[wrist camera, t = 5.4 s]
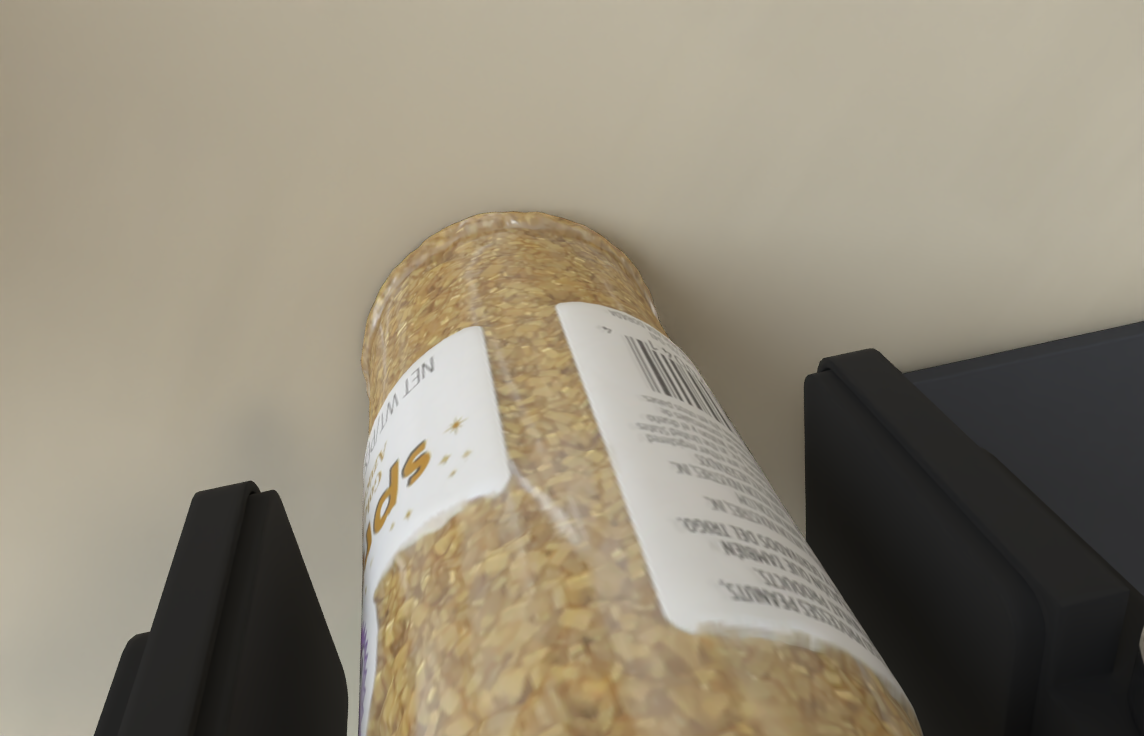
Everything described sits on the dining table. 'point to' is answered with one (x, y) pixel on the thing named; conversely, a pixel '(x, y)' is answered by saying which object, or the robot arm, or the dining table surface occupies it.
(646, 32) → the dining table surface
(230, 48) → the dining table surface
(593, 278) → the sprinkles bottle
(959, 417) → the mat
